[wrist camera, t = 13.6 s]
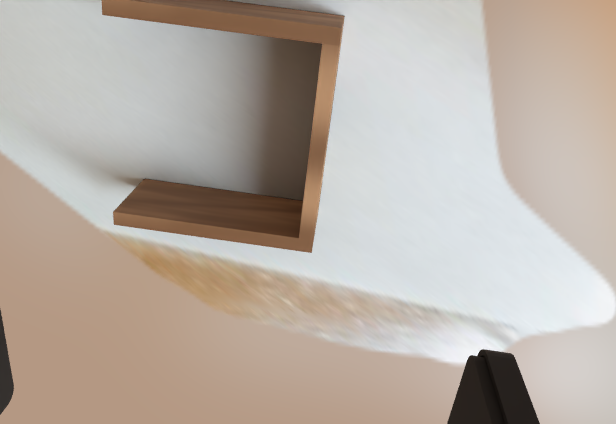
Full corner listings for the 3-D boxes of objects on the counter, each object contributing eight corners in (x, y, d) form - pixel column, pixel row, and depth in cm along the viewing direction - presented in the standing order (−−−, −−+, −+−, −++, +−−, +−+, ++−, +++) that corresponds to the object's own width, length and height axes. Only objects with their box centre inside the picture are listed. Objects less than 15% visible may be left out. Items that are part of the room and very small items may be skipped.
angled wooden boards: (139, -11, 37) (101, -4, 31) (344, 16, 36) (341, 28, 31) (144, 190, 43) (113, 224, 38) (317, 214, 43) (311, 252, 38)
